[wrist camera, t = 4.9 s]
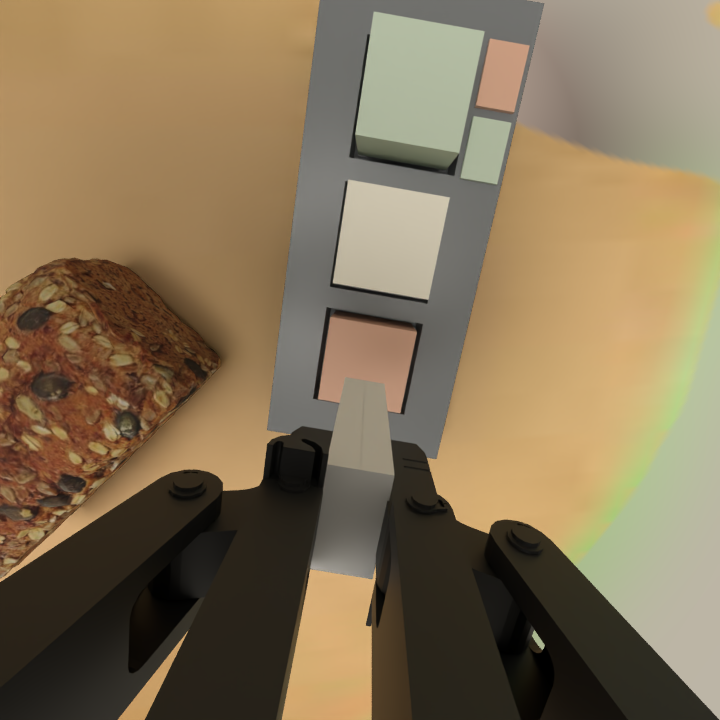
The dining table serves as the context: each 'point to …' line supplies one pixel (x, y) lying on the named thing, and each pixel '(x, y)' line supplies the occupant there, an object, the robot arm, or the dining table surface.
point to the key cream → (389, 239)
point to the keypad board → (459, 182)
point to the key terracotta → (367, 355)
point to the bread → (82, 388)
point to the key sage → (416, 90)
